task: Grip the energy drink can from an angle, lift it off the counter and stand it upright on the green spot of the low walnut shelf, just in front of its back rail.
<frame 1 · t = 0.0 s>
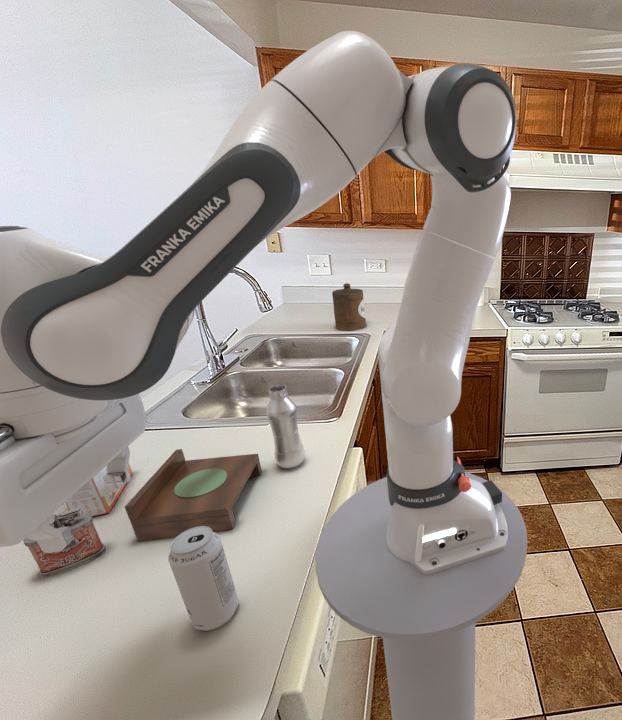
hand: (92, 512, 44), 26 cm above the table, tool pointing down, fingers open, 8 cm apart
silver metal bottle: (291, 464, 95), on the table
wooden container: (351, 326, 202), on the table
shelf: (207, 502, 82), on the table
energy drink can: (217, 615, 60), on the table
cracker box: (105, 496, 84), on the table
lighter: (75, 562, 69), on the table
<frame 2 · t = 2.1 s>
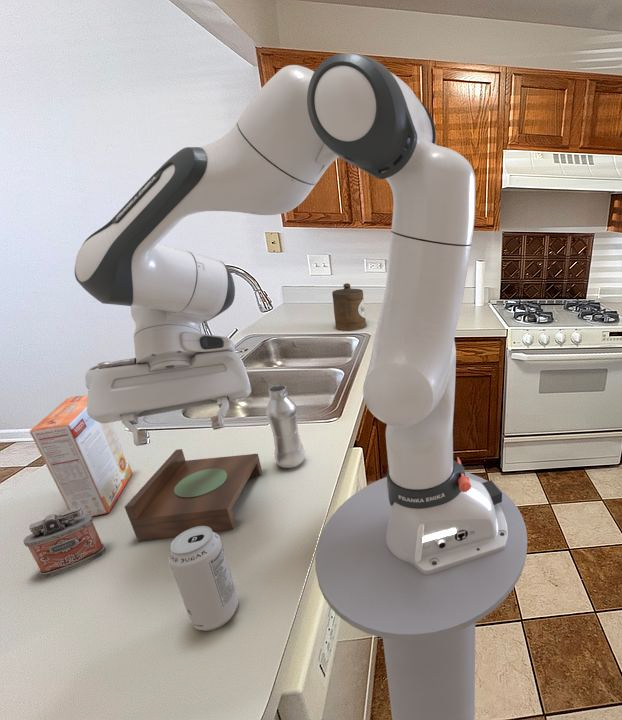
hand: (181, 435, 60), 25 cm above the table, tool tilted 40°, fingers open, 8 cm apart
nothing on the table moved.
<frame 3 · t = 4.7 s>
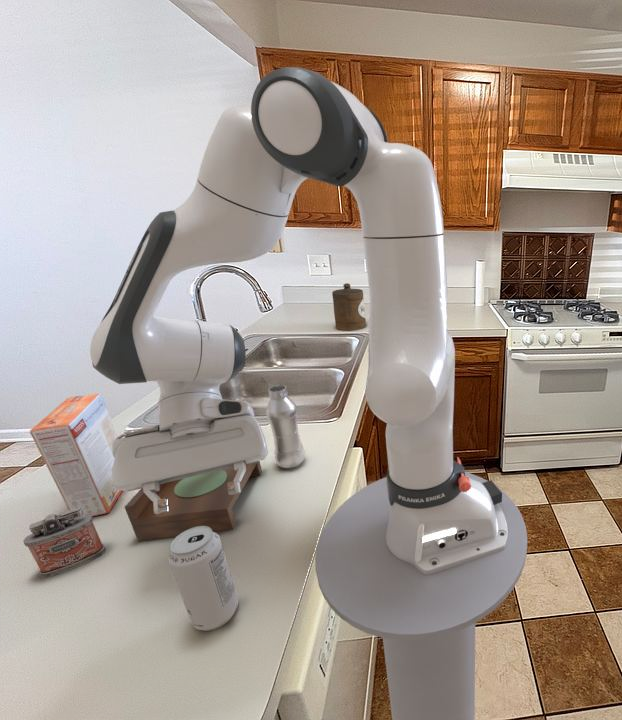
hand: (199, 502, 61), 15 cm above the table, tool tilted 45°, fingers open, 8 cm apart
nothing on the table moved.
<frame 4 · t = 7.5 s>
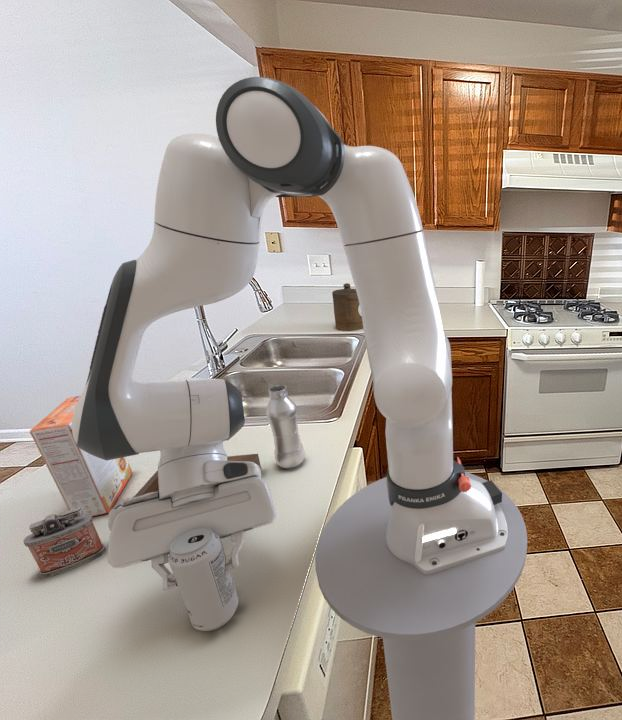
hand: (203, 577, 56), 8 cm above the table, tool tilted 45°, fingers closed on energy drink can, 6 cm apart
energy drink can: (217, 616, 60), on the table, touching gripper
everything else where it was.
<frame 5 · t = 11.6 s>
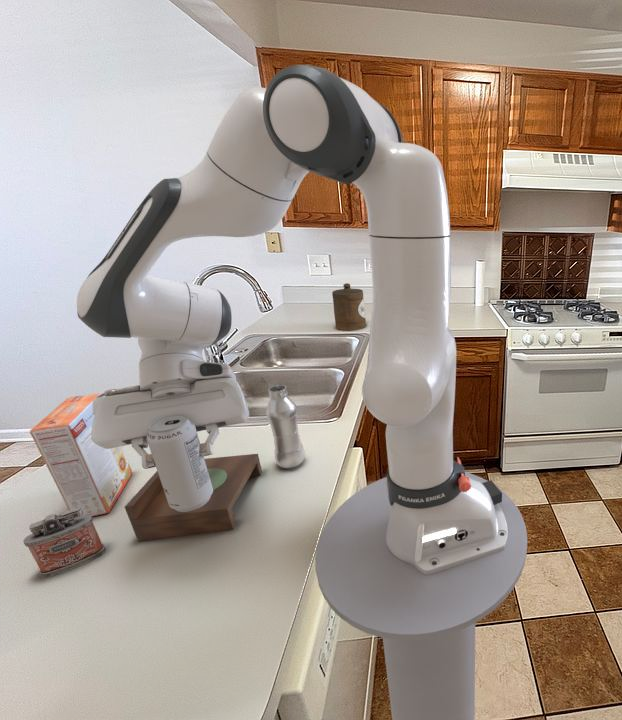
hand: (179, 460, 62), 21 cm above the table, tool tilted 45°, fingers closed on energy drink can, 6 cm apart
energy drink can: (193, 502, 65), point 12 cm above the table, touching gripper
everything else where it was.
when the fingers open (14 cm above the table, at t = 16.1 s): energy drink can stays where it is, resting on shelf.
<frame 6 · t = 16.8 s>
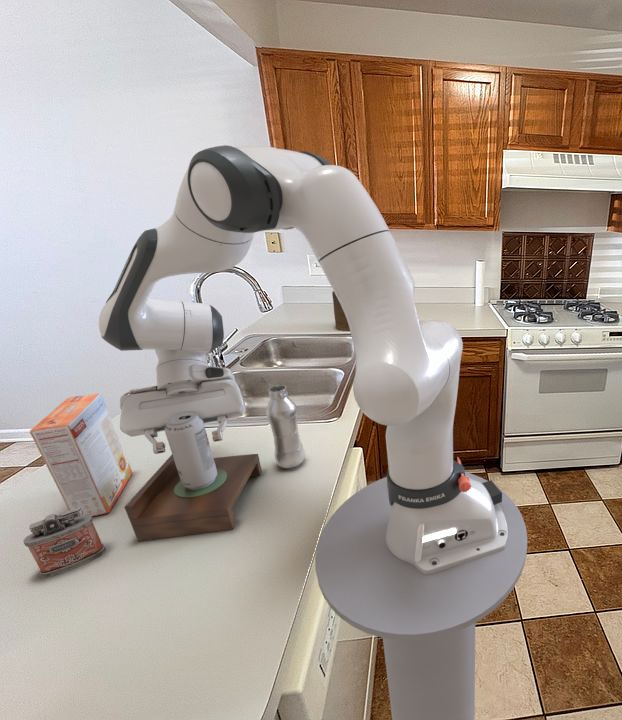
hand: (189, 446, 77), 14 cm above the table, tool tilted 45°, fingers open, 8 cm apart
energy drink can: (201, 482, 81), point 5 cm above the table, touching shelf
everything else where it was.
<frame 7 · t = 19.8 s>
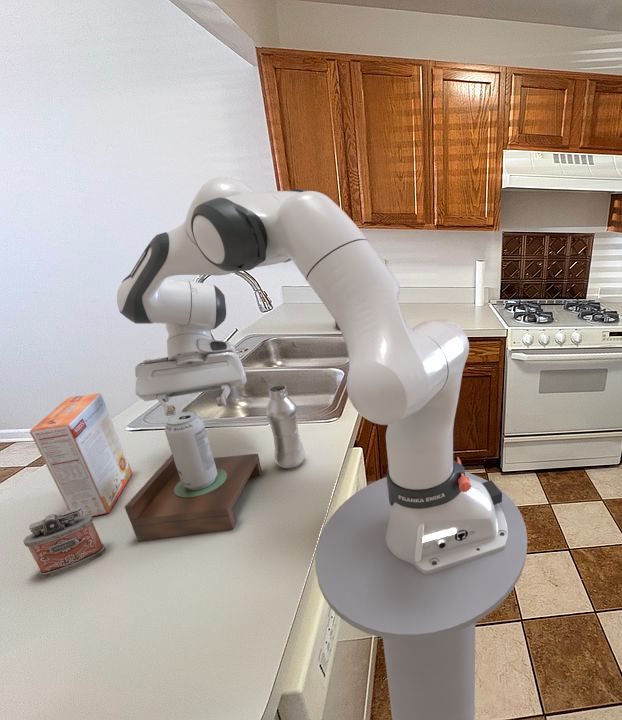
hand: (196, 410, 86), 16 cm above the table, tool tilted 45°, fingers open, 8 cm apart
nothing on the table moved.
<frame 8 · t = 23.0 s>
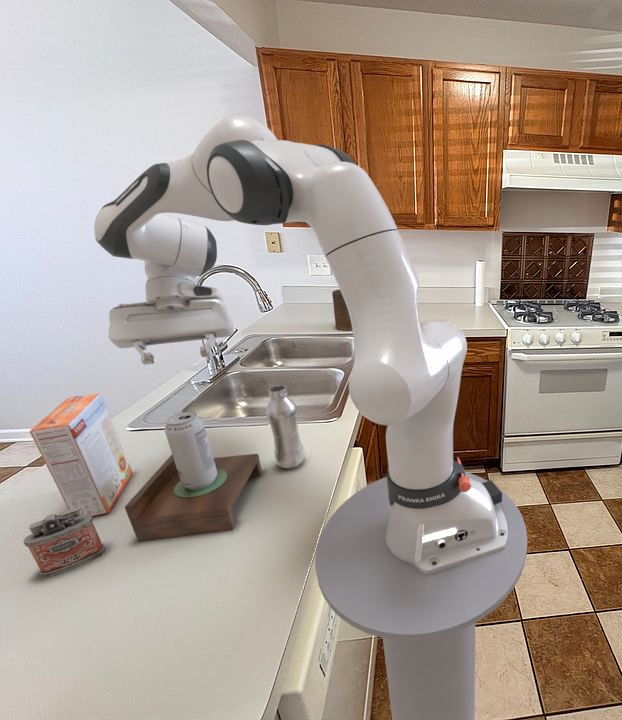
hand: (177, 359, 78), 29 cm above the table, tool tilted 45°, fingers open, 8 cm apart
nothing on the table moved.
at the end: energy drink can 0.0 cm off-centre on the shelf, point 5.0 cm above the shelf's base; energy drink can tilted 0°; the gripper is holding nothing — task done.
